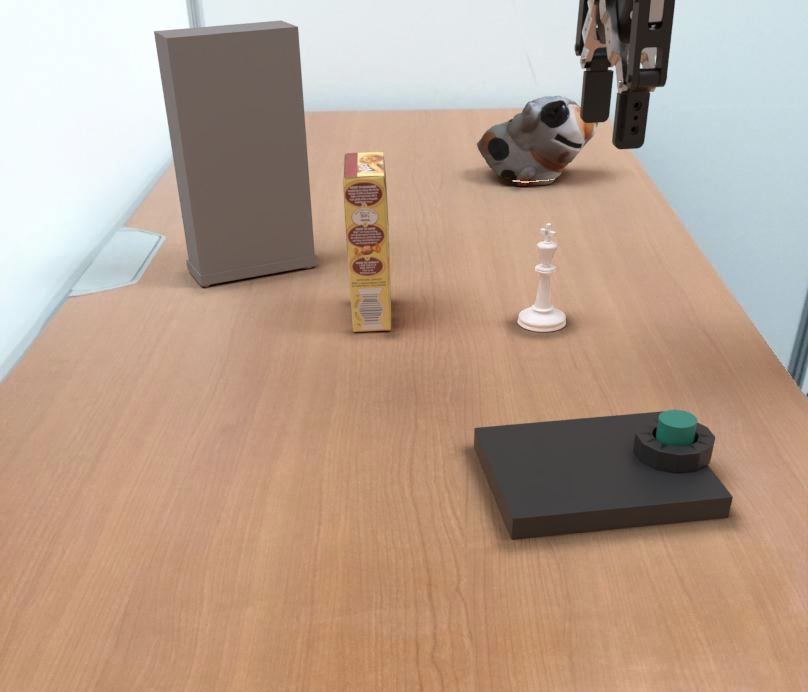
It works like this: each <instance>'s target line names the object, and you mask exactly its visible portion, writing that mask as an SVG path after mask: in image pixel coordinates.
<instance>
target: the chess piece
mask: <svg viewBox="0 0 808 692" xmlns="http://www.w3.org/2000/svg"><path fill="white" fill-rule="evenodd" d="M544 226H545V227H544V228H543V227H542V228H540V229H539V235H543V236H544V239H543V240H541V241H539V242H538V243H536V250H537V252H538V255H539V256H538V257H539V261H540V263H538V264H536V265H535V267H534V271H535V272H536V273H539V274H540V275H539V279H538V285H537V290H536V296H535V300H534V303H533V304H531V306H530V307H526V308H524V309H522V310H521V311H520V312H519V313H518V317H517V318H518V319H517V324H518V326H520V327H521V328H523V329H525V330H528V331H532V332H536V333H537V332H538V333H548V332H550V333H551V332H556V331H559V330H561V329H563V328H564V327H565V326H566V325H567V320H566V319H567V317H566V313H564V312H563V311H562V310H561V309H558V308H556V307H555V306H554V304H552V294H551V293H552V291H551V274H553V273H555V272H557V266H556V265H555V264H552V262H553V259H554V257H555V255H556V252H557V250H558V247H559V245H558V243H557V242H555V241H553V240H552V238H553V239H555V238H556V237H557V231H555V230H552V228H553V224H552V223H549V222H548V223H545V225H544Z"/></svg>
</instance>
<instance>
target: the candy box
mask: <svg viewBox="0 0 808 692" xmlns="http://www.w3.org/2000/svg"><path fill="white" fill-rule="evenodd" d="M342 184H343V202H344V203H343V204H344V222H345V236H346V238H345V239H346V240H345V241H346V254H347V269H348V271H347V272H348V281H349V282H348V283H349V295H350V296H349V298H350V311H351V323H352V324H351V325H352V332H353V333H359V332H361V333H362V332H382V331H386V332H389V331H391V330H392V292H391V291H392V290H391V287H392V286H391V284H392V283H391V255H390V226H389V225H390V224H389V207H388V205H389V203H388V189H387V173H386V163H385V153H384V152H383V151H371V152H369V151H368V152H366V151H365V152H345V153H344V157H343V177H342Z"/></svg>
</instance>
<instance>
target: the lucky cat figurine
mask: <svg viewBox="0 0 808 692" xmlns="http://www.w3.org/2000/svg"><path fill="white" fill-rule="evenodd" d="M580 109H581V105H578V103H577V102H576V101H574V100H572V99H570V98H568V97H566V96H562V95H555V96H551V95H545V96H542V97H537V98H536V99H533V100H531V101H528V102H527V103H526V104H525V106H524V107H523V109H522V111H521V112H519V113H516V114H515V115H514V116H513V118H511V119H508V120H507V121H503V122H501V123H498V124H494V125H493V126H490V128H488V129H487V130H486V131H485V132H484V133H483V135H482V137H481V138H480V139H479V140H478V142H476V146H477V150H478V151H479V153H480V155H481V156H482V158H483V159H484V161H485V162H486V164H487V166H488V167H489V168H490V170H492V171H493V172H494V173H495V174H496V175H497V176H498V177H500V178H502V179H508V178H509V179H510V181H511V180H520V181H536V180H548V179H549V181H539V182H529V183H521V182H512V181H511V183H512V185H513V186H516V187H534V186H535V187H536V186H546V185H551V184H552V183H553V182H554V181H555V180H556V179H557V178H558V177H560V176H561V175H562V172H563V171H564V169H565V168H566V167H567V166H568V165H569V164H571V163H572V162H573V161H574V159H576V157H577V156H578V155H579V154H580V152H581V151H582V150H583V148H584V147H585V146H586V145H587V144H588V142H589V141H590V140H591V139H592V138H593V137H595V135H596V130H597V128H598V126H599V123H585V122H584V121H583V120H582V119H581V118H580ZM554 178H556V179H554ZM550 179H554V180H550Z"/></svg>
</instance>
